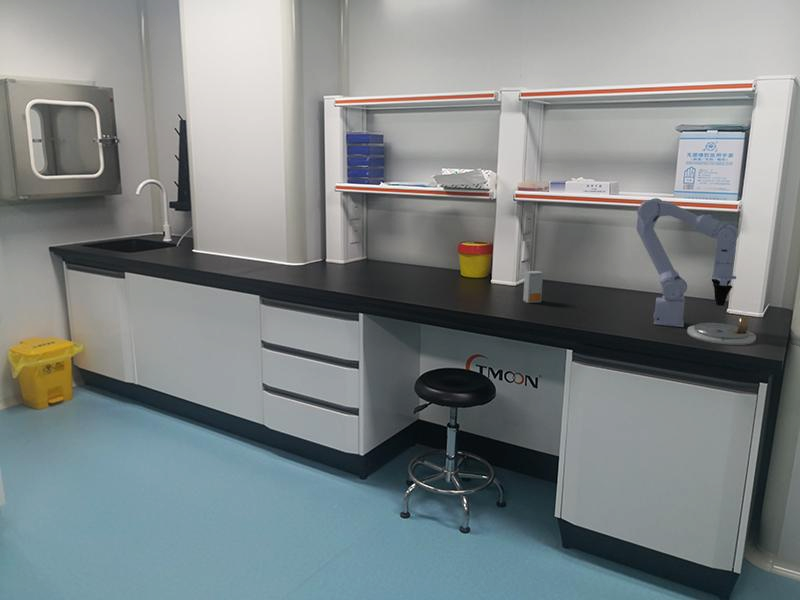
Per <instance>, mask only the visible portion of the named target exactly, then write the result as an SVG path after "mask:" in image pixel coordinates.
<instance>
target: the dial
mask: <svg viewBox="0 0 800 600" xmlns="http://www.w3.org/2000/svg"><path fill="white" fill-rule="evenodd" d="M749 319H750V318H749V317H748V316H744V315H742V316H741V315H740V316H739V317H738V323H737V324H738V325H733V324H727V323H721V322H720V323H719V322H702V323H697V324H694V325H695V326H694V330H695V331H696V332H698V333H701V334H704V335H707V336H712V337H717V338H726V339H740V338H746V337H748V336H749V330H748V325H749Z"/></svg>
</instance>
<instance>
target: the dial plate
mask: <svg viewBox="0 0 800 600" xmlns="http://www.w3.org/2000/svg"><path fill="white" fill-rule="evenodd" d="M695 325H696V324H694V325H690V326H688V327H687V330H686V333H687V335H688V336H689V337H691V338H693V339H696V340H698V341H703V342H705V343H711V344H717V345H726V346H747V345H751V344H754V343H755V342H756V339H757V335H756V334H755V333H754V332H751V331H749V330H748V331H749V336H748V337H746V338H740V339H726V338H717V337H712V336H707V335H704V334H701V333H698V332H696V331H695V330H694V326H695Z"/></svg>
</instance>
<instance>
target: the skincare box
mask: <svg viewBox="0 0 800 600" xmlns="http://www.w3.org/2000/svg"><path fill="white" fill-rule="evenodd" d="M543 278H544V272H542V271H539V270H530V271H529V270H527V271H524V280H523V297H522V298H523V299H522V301H523V302H525V303H527V304H530V303H531V304H532V303H541V302H542V295H543V281H544V280H543Z"/></svg>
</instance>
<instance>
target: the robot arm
mask: <svg viewBox="0 0 800 600" xmlns="http://www.w3.org/2000/svg"><path fill="white" fill-rule="evenodd" d="M636 213H637V220H636V232H637V234H638V236H639V237H640V239H641V242H642V244H643V246H644V248H645V250H646V251H647V254H648V256H649V258H650V259H651V261H652V264H653V266H654V267H655V270H656V272H657V274H658V275H659V276H658V277H659V282H660V285H661V292H662V293H661V294H662V297H655V298H656V299H655V309H654V312H653V317H652V318H653V324H654V325H657V326H668V327H680V328H684V327H685V326H684V325H685V323H684V322H685V321H684V320H683V319H684V313H685V311H684V310H685V304H686V303H685V302H686V297H685V296H684V294H685V293H686V291H687V289H688V284H687V281H685V279H684V278H682V277H681V276H680V274H679V272H677V271H676V270H675V269H674V267H673V265H672V262H671V261H670V259H669V257H668V254H667V253H666V250H665V249H664V247H663V245H662V243H661V241H660V239H659V237H658V234H657V232H656V231H655V228H654V227H655V225H656V224H657V221H658V219H659V218H660V217H667V216H669V217H673V218H675V219H678V220H680V221H683V222H685V223H688V224H689V225H692V226H693V228H694V230H695V231H696V232H699V233H701V234H703V235H705V236H708V237H710V238H711V239H716V242H717V244H716V248H715V255H714V263H713V272H712V275H711V277H712V279H711V282H712V287H713V290H714V291H713V292H714V300H715V303H716V306H719V307H720V306H721V307H724V305H725V304H726V301H727V298H728V295H729V293H730V291H731V290H732V289H733V285H729V284H730V283H731V280H736V279H737V276H736V275H734V267H735V258H736V247H737V241H736V240H737V239H738V238H739V233H740V232H739V230H738V228H737V227H736V226H734V225H733V224H727V221H720V220H718V219H716V218H713V215H712V214H707V215H706V214H702V215H696V214H695V213H692V212H690V211H688V210H686V209H684V208H682V207H680V206H678V205H676V204H674V203H671V202H669V201H666V200H662V199H660V198H650V199H647V200H644V201H643V202H641V204H640V205H639V208H638V209H637V212H636Z"/></svg>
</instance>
